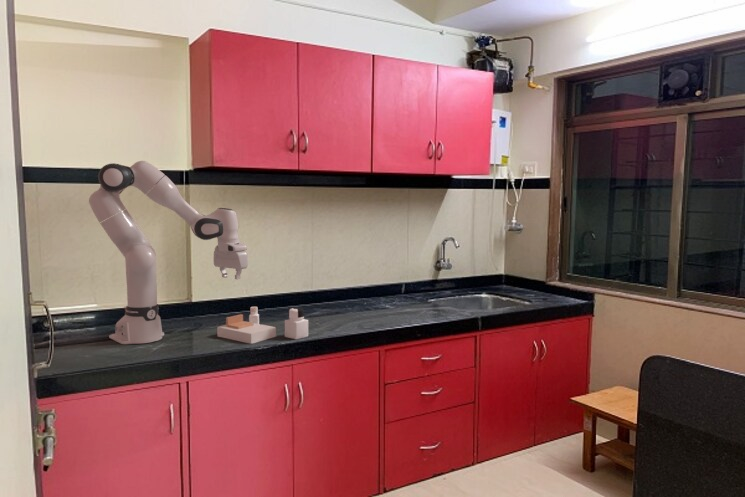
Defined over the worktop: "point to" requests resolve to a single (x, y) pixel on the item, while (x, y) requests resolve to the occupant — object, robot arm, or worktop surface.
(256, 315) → the salt shaker
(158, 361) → the worktop surface
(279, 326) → the worktop surface
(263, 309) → the worktop surface
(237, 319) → the orange l-shaped bracket
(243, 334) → the white tray
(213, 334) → the worktop surface
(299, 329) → the white stepped block
